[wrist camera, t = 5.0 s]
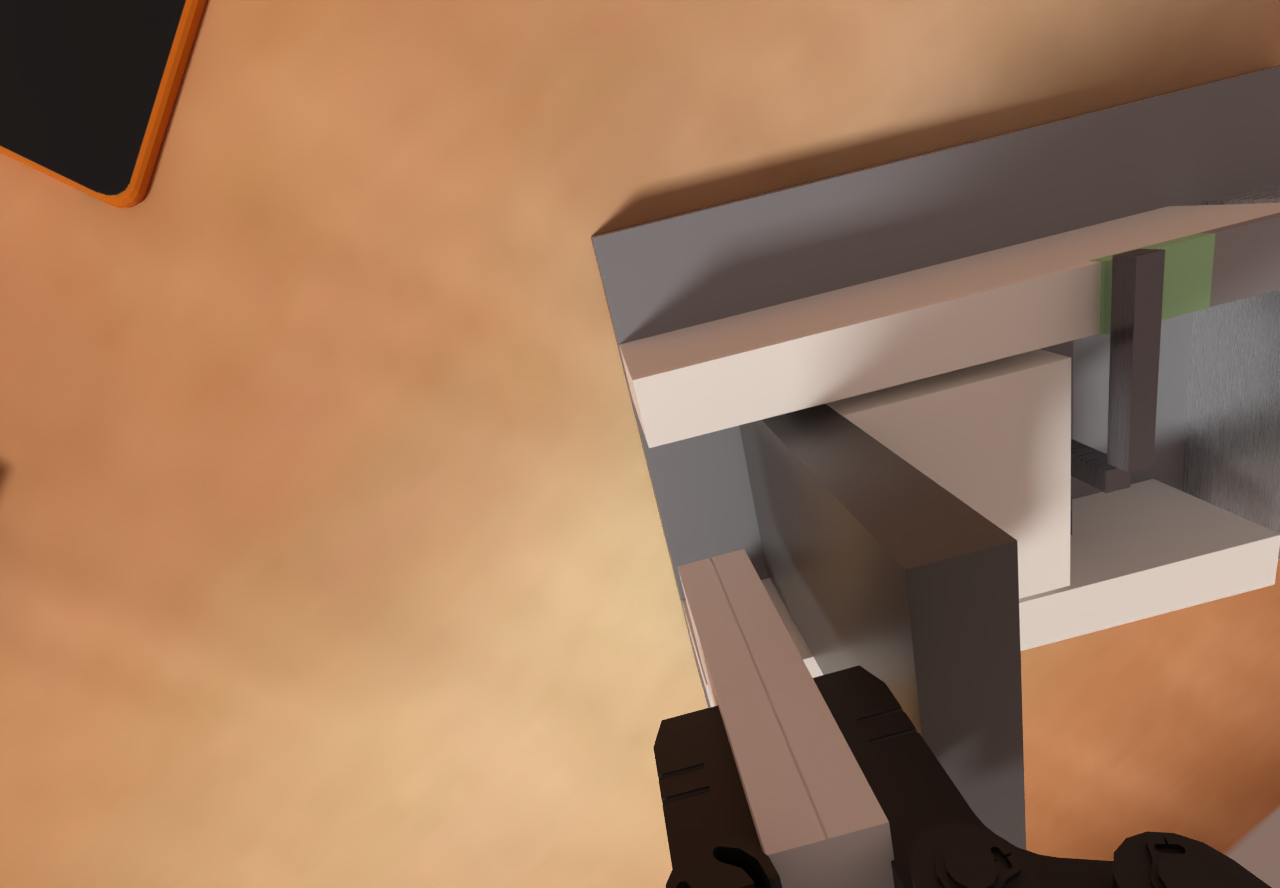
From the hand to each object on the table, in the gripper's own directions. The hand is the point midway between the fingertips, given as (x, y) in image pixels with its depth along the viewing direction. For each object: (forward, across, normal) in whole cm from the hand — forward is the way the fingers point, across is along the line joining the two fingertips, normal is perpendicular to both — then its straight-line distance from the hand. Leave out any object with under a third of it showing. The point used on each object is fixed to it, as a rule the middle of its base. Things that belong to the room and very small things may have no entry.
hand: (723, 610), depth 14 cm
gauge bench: (+8, -9, 0) cm, 12 cm away
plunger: (+6, -6, 0) cm, 8 cm away
